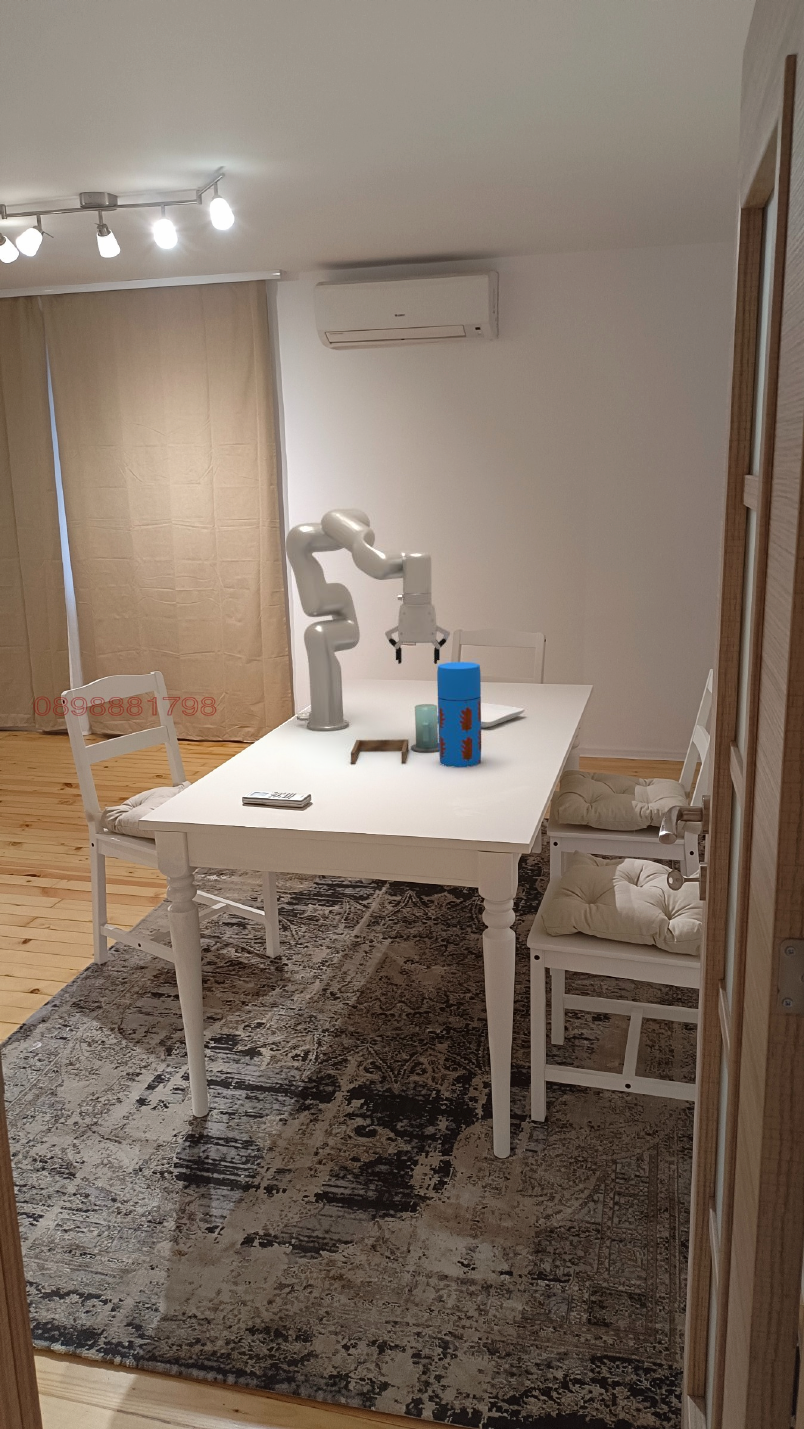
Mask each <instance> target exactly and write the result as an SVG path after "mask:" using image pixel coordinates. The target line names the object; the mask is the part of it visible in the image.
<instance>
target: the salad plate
mask: <svg viewBox="0 0 804 1429" xmlns="http://www.w3.org/2000/svg"><path fill="white" fill-rule="evenodd" d="M524 712H525V708H522V707H514V706H509V705H502V704H497V703H486V702H481V729H482V728H484V729H486V728H487V729H488V728H491V727H493V726H497V725H500V724H502V722H503V723H505V722H507V720H508V721H510V720H512V719H515V718H517V717H519V716H520V715H522V714H523V713H524ZM437 719H438V711H437ZM499 723H500V724H499Z"/></svg>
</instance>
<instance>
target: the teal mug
mask: <svg viewBox="0 0 804 1429" xmlns="http://www.w3.org/2000/svg"><path fill="white" fill-rule="evenodd" d="M437 712H438V704H433V703H432V704H431V703H424V704H417V705H414V721H415V722H414V723H415V724H414V728H415V744H416V747H417V748H420V749H433V748H436V747H438V743H439V733H438V719H437Z"/></svg>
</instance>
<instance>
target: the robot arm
mask: <svg viewBox="0 0 804 1429" xmlns="http://www.w3.org/2000/svg"><path fill="white" fill-rule="evenodd" d="M375 534H376V533H375V532H374V529H372V528H371V523H370V519H369V516H368V515H367V514H366V513H365V511H363V510H362V509H359V508H336V509H331V510H329V511H327V512H326V513H325V514H323V516H322V518H321V520H320V522H307V523H301V524H296V525H294V526H293V527H292V528H291V529H290V530H289V531H288V532H287V536H286V539H285V552H286V556H287V559H288V562H289V564H290V566H291V570H292V572H293V574H294V577H295V578H294V579H295V584H296V588H297V592H298V596H299V600H300V606H301V608H302V611H303V613H304V614H305V616H307V617H309V618H321V617H330V616H331V619H327V620H325V619H324V620H321V621H320V620H319V621H316V622H313V623H311V624H309V625H308V626H307V627H306V628H305V629H304V634H303V641H304V642H303V643H304V646H305V650H306V654H307V663H308V676H309V696H310V712H307V713H301V712H300V713H297V714H296V719H297V721H301V722H303V721H307V723H306V728H307V729H309V730H311V731H317V732H318V731H323V732H325V731H337V730H338V731H339V730H342V729H346V728H347V727H349V722H350V721H348V720H347V719H344V706H343V705H344V703H343V702H344V701H343V700H344V699H343V680H342V679H343V678H342V667H341V666H342V665H341V664H340V661H339V659H338V658H337V656H336V654H335V653H337V652H341V651H342V652H343V651H348V650H353V649H354V648H356V646H357V645H358V644H359V642H360V638H361V634H360V633H361V632H360V626H359V622H358V618H357V614H356V610H355V605H354V601H353V595H352V594H351V592H350V590H349V588H348V587H346V585H344V584H342V583H339V582H329V583H328V582H327V581H326V577H325V574H324V569H323V566H322V565H321V563H320V562H319V561H318V560H317V558H316V557H315V556H314V555H313V553H325V552H336V551H340V550H342V549H345V550H347V551H348V552H350V554H351V558H352V560H353V563H354V565H355V567H356V568H358V570H360V571H362V573H364V574H365V575H367V576H368V577H370V578H372V579H374V580H375V579H376V580H379V581H385V580H393V579H395V580H396V579H402V593H401V594H397V601H401V602H402V603H401V604H400V606H399V610H398V624H397V625H396V626H394V627H392V628H391V629H390V628H389V629H388V630H386V631H385V633H384V634H385V636H386V639H387V640H388V642H389V644H390V645H391V646H392V647H393V648H394V649H395V661H397V663H398V665H400V664H402V661H403V659H402V652H403V651H402V650H403V648H402V647H401V646H402V645H403V643H406V644H407V643H409V644H411V643H412V644H416V643H417V644H424V643H425V644H429V643H430V644H432V645H433V646H434V649H433V658H434V659H433V664H435V665H437V664H438V661H440V656H441V653H440V652H441V650H440V649H441V648H442V647H443V646H444V645H445V644H446V643H447V641H448V640H449V637H450V635H451V632H450V631H449V630H447V629H445V628H443V627H441V626H439V625H437V615H436V614H437V612H436V608H435V604H434V603H432V598H433V597H432V556H431V554H430V553H429V552H426V551H412V550H407V549H396V550H395V549H394V550H393V549H391V550H382V551H380V550H377V549H375V548H374V547H373V546H374V545H375V542H376V541H375V540H376V535H375ZM437 632H438V633H439V634H442V635H443V636H442V638H441V640H440V641H438V639H437V634H438V633H437ZM395 633H397V636H398V639H397V641H396V639H394V638H393V634H395Z"/></svg>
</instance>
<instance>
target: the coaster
mask: <svg viewBox="0 0 804 1429" xmlns="http://www.w3.org/2000/svg"><path fill="white" fill-rule="evenodd" d="M410 750H411V751H413V752H415V753H426V754H427V753H428V754H429V753H439V742H438V747H436V748H433V749H420V748H417V747H416V743H414V744H412V745H411V746H410Z"/></svg>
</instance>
